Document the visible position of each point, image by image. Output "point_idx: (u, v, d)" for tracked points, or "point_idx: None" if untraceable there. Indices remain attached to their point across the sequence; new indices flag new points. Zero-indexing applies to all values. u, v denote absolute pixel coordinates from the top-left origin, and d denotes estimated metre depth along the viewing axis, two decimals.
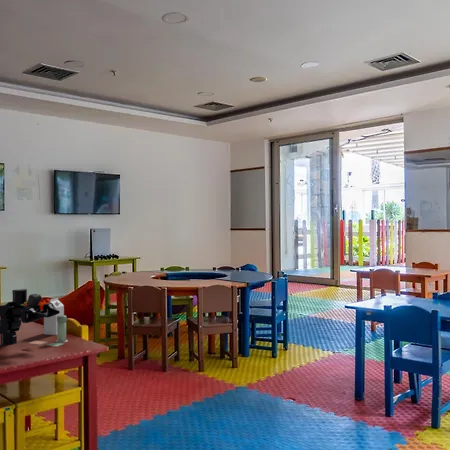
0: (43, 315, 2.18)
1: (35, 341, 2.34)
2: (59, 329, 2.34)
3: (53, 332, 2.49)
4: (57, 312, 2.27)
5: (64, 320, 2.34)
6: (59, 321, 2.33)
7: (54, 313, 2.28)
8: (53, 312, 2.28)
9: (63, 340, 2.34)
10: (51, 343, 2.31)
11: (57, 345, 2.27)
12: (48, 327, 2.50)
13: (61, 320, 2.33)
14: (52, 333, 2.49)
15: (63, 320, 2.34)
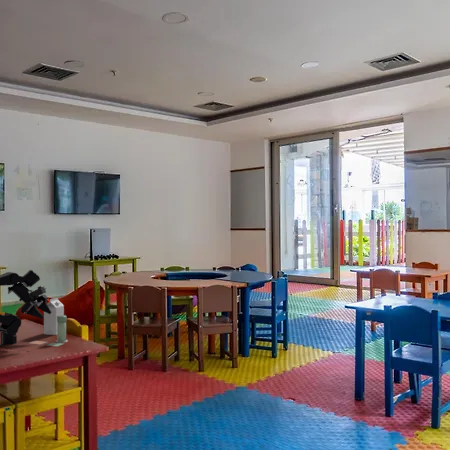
0: (40, 316, 2.30)
1: (35, 341, 2.34)
2: (59, 329, 2.34)
3: (53, 332, 2.49)
4: (49, 312, 2.39)
5: (64, 320, 2.34)
6: (59, 321, 2.33)
7: (45, 310, 2.40)
8: (45, 309, 2.40)
9: (63, 340, 2.34)
10: (51, 343, 2.31)
11: (57, 345, 2.27)
12: (48, 327, 2.50)
13: (61, 320, 2.33)
14: (52, 333, 2.49)
15: (63, 320, 2.34)
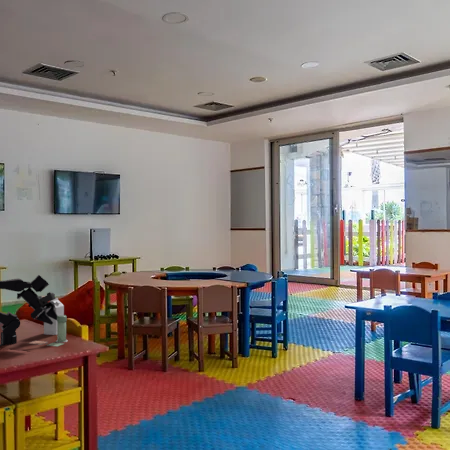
0: (50, 322, 2.31)
1: (35, 341, 2.34)
2: (59, 329, 2.34)
3: (53, 332, 2.49)
4: None
5: (64, 320, 2.34)
6: (59, 321, 2.33)
7: (53, 317, 2.40)
8: (53, 315, 2.40)
9: (63, 340, 2.34)
10: (51, 343, 2.31)
11: (57, 345, 2.27)
12: (48, 327, 2.50)
13: (61, 320, 2.33)
14: (52, 333, 2.49)
15: (63, 320, 2.34)
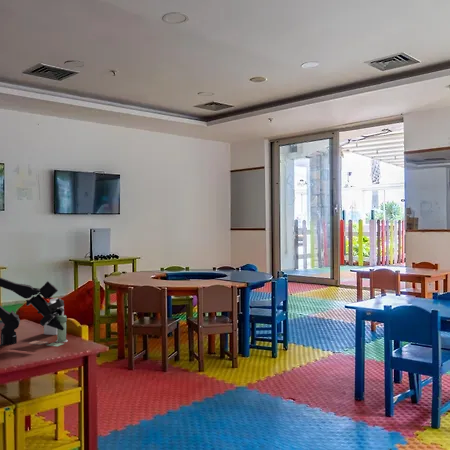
0: (61, 328, 2.33)
1: (35, 341, 2.34)
2: (59, 329, 2.34)
3: (53, 332, 2.49)
4: None
5: (64, 320, 2.34)
6: (59, 321, 2.33)
7: None
8: None
9: (63, 340, 2.34)
10: (51, 343, 2.31)
11: (57, 345, 2.27)
12: (48, 327, 2.50)
13: (61, 320, 2.33)
14: (52, 333, 2.49)
15: (63, 320, 2.34)
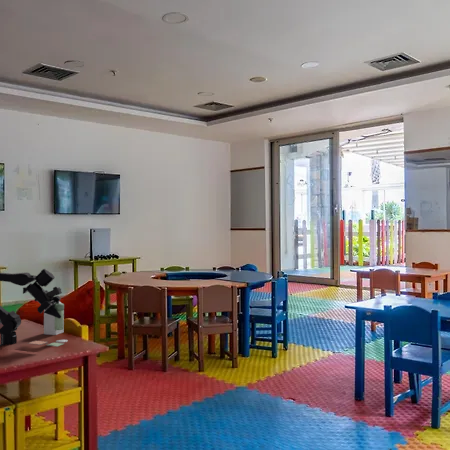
0: (58, 316, 2.30)
1: (35, 341, 2.34)
2: None
3: (53, 332, 2.49)
4: None
5: (62, 308, 2.31)
6: (56, 309, 2.31)
7: None
8: None
9: (61, 328, 2.31)
10: (51, 343, 2.31)
11: (57, 345, 2.27)
12: (48, 327, 2.50)
13: (59, 308, 2.31)
14: (52, 333, 2.49)
15: (61, 308, 2.31)
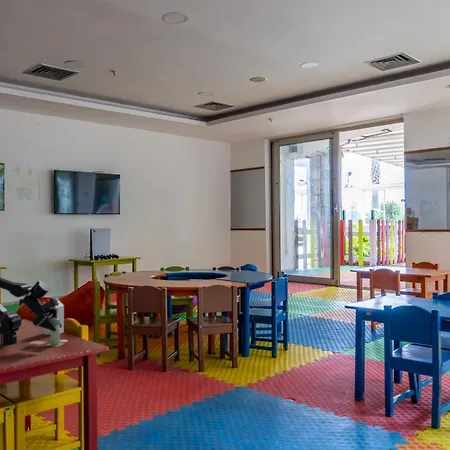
0: (53, 329, 2.25)
1: (35, 341, 2.34)
2: (53, 332, 2.27)
3: None
4: None
5: (57, 323, 2.28)
6: None
7: None
8: None
9: (57, 343, 2.28)
10: None
11: (57, 345, 2.27)
12: None
13: (54, 323, 2.27)
14: None
15: (56, 323, 2.27)
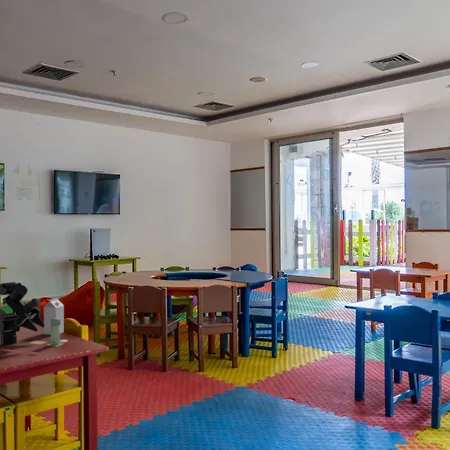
0: (35, 329, 2.24)
1: (35, 341, 2.34)
2: (53, 332, 2.27)
3: None
4: (42, 325, 2.34)
5: (58, 323, 2.28)
6: (53, 324, 2.27)
7: (38, 323, 2.34)
8: (38, 322, 2.34)
9: (57, 344, 2.28)
10: None
11: (57, 345, 2.27)
12: (48, 327, 2.50)
13: (55, 323, 2.27)
14: None
15: (57, 323, 2.27)
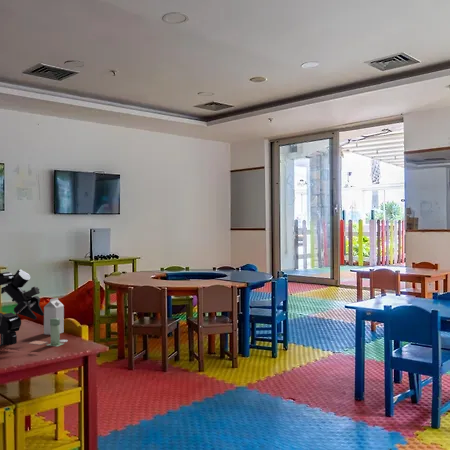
0: (34, 317, 2.26)
1: (35, 341, 2.34)
2: (53, 332, 2.27)
3: None
4: (41, 314, 2.35)
5: (57, 323, 2.27)
6: (52, 324, 2.27)
7: (38, 312, 2.35)
8: (37, 310, 2.35)
9: (57, 343, 2.28)
10: None
11: (57, 345, 2.27)
12: (48, 327, 2.50)
13: (54, 323, 2.27)
14: None
15: (56, 323, 2.27)
